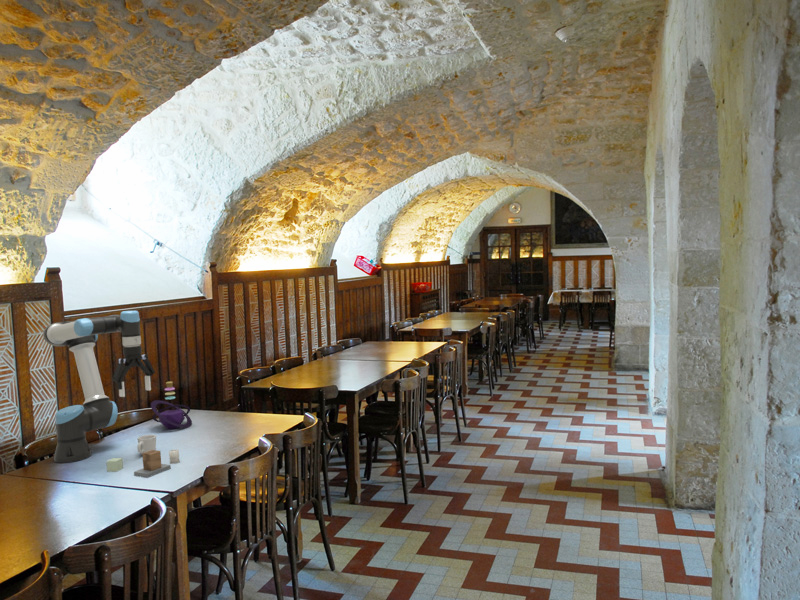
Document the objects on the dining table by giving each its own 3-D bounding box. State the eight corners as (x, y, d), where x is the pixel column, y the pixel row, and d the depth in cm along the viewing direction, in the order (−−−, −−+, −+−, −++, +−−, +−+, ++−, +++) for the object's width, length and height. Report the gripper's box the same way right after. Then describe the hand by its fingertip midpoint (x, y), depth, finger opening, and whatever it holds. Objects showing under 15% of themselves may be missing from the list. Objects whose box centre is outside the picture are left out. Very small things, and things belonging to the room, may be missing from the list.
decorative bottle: (184, 432, 321) (181, 385, 319) (144, 434, 321) (140, 387, 320) (198, 421, 343) (195, 377, 342) (161, 423, 344) (158, 378, 342)
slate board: (134, 475, 257) (133, 471, 257) (157, 466, 267) (157, 462, 267) (147, 477, 253) (147, 474, 253) (170, 468, 263) (170, 465, 263)
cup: (146, 458, 279) (145, 441, 279) (131, 458, 281) (130, 441, 280) (160, 451, 290) (159, 434, 289) (145, 451, 291) (144, 434, 291)
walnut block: (143, 469, 259) (142, 453, 258) (153, 465, 263) (152, 449, 263) (151, 471, 256) (150, 454, 256) (161, 467, 261) (160, 451, 260)
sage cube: (107, 471, 263) (106, 461, 263) (113, 468, 268) (112, 458, 268) (117, 471, 263) (116, 461, 262) (123, 468, 267) (122, 458, 267)
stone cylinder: (167, 463, 271) (167, 451, 271) (175, 460, 275) (174, 449, 274) (174, 464, 269) (173, 452, 269) (181, 461, 273) (180, 450, 273)
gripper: (112, 350, 259) (116, 400, 261) (161, 342, 281) (164, 388, 283) (101, 349, 263) (104, 398, 264) (149, 341, 285) (152, 387, 286)
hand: (135, 393), depth 273 cm, fingers open, 13 cm apart
